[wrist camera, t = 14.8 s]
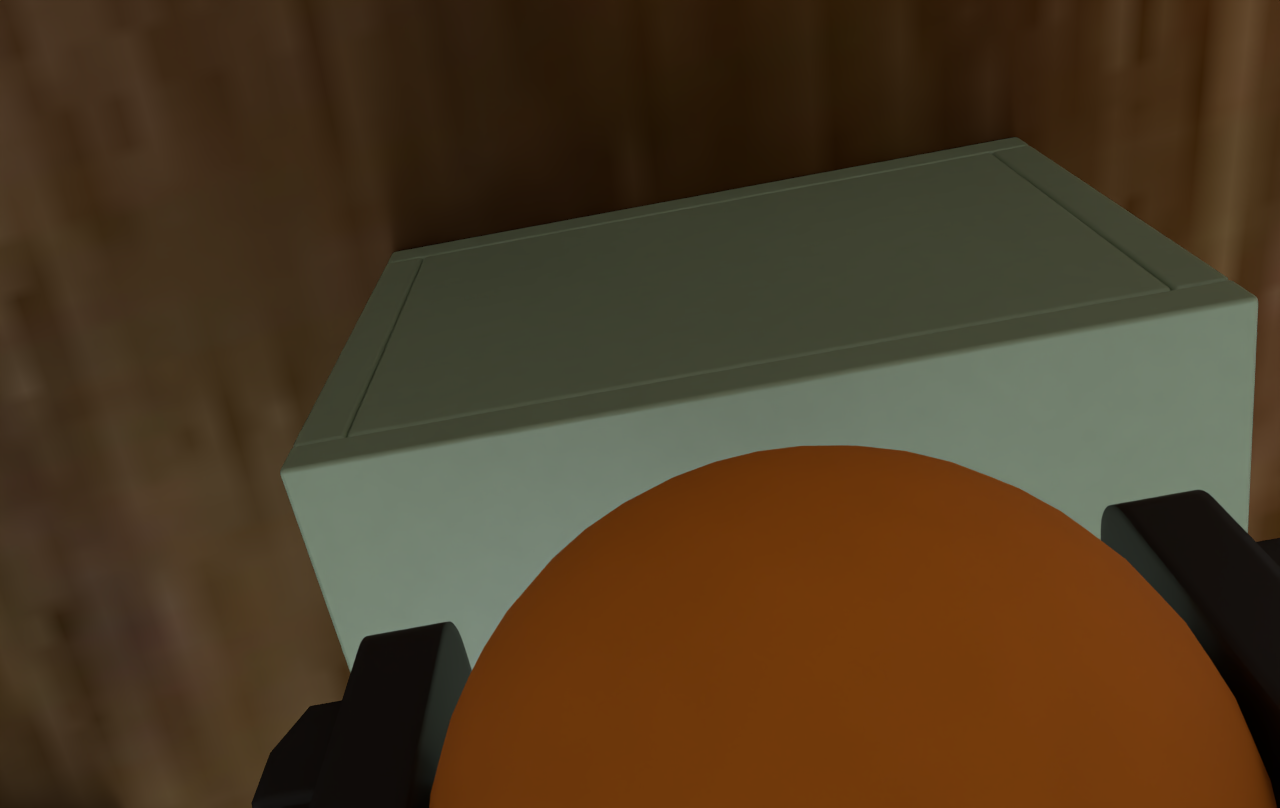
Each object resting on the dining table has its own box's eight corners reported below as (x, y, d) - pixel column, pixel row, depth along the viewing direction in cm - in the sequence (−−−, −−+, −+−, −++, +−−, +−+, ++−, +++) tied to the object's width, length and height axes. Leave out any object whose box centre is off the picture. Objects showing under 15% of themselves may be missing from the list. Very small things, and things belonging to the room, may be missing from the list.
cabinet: (1042, 711, 32) (1225, 1061, 22) (543, 792, 32) (522, 1165, 23) (1017, 135, 25) (1260, 297, 16) (392, 251, 26) (276, 471, 16)
